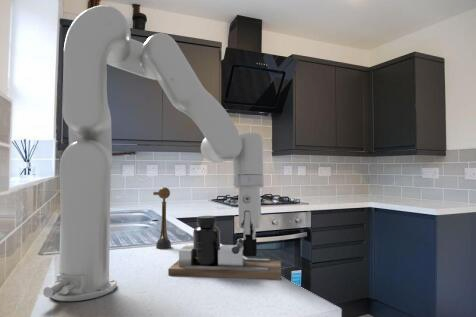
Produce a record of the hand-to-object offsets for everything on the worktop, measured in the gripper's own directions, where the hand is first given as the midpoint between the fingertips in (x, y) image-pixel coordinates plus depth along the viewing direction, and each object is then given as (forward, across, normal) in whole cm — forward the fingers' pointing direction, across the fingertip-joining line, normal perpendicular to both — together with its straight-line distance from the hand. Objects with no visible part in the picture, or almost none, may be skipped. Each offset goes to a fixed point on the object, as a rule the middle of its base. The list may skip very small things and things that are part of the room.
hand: (250, 255), depth 80 cm
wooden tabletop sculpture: (+4, +23, +32) cm, 39 cm away
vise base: (+4, 0, +6) cm, 8 cm away
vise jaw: (+2, 0, +5) cm, 5 cm away
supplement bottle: (+3, 0, +11) cm, 11 cm away
